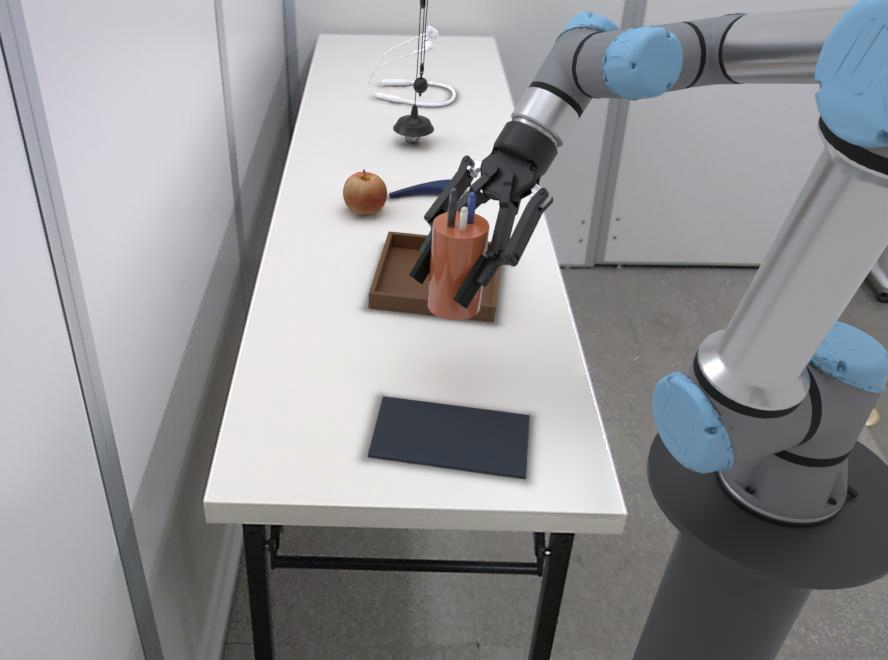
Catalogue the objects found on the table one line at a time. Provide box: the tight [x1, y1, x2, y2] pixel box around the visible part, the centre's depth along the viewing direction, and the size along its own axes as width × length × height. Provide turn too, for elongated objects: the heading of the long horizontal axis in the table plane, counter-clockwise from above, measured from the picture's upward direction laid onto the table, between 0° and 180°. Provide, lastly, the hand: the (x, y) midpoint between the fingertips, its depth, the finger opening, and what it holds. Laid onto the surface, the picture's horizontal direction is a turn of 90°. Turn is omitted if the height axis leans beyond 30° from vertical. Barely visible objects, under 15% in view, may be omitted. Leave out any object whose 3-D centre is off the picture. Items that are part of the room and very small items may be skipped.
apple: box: [342, 169, 388, 216], centre depth 162 cm, size 8×8×8 cm
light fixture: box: [392, 0, 435, 146], centre depth 176 cm, size 10×8×31 cm
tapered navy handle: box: [388, 178, 472, 199], centre depth 169 cm, size 16×4×2 cm, turn 99°
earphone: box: [367, 25, 457, 107], centre depth 205 cm, size 14×17×18 cm
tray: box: [367, 231, 502, 323], centre depth 146 cm, size 20×20×3 cm
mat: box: [367, 395, 530, 480], centre depth 118 cm, size 20×12×1 cm, turn 79°
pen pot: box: [427, 188, 490, 321], centre depth 114 cm, size 7×7×17 cm
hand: (437, 291), depth 115 cm, fingers closed on pen pot, 7 cm apart
